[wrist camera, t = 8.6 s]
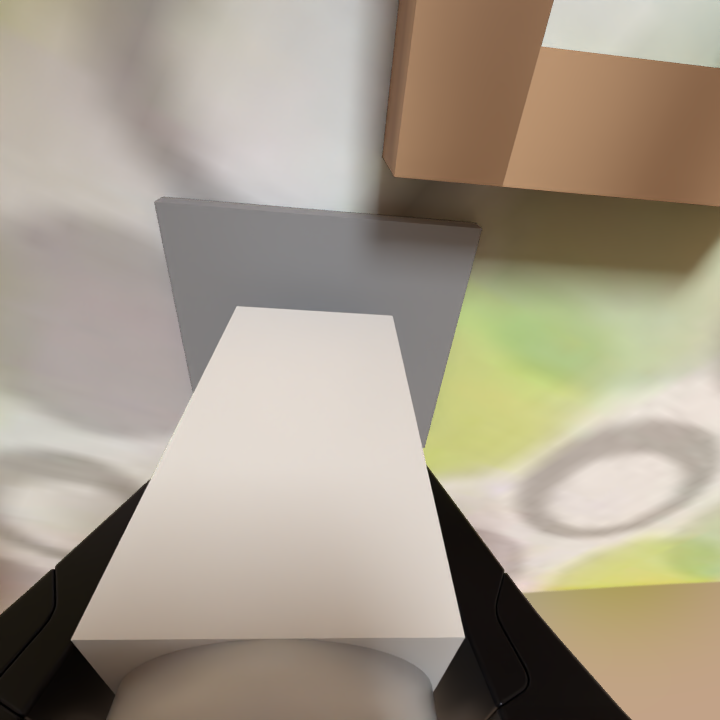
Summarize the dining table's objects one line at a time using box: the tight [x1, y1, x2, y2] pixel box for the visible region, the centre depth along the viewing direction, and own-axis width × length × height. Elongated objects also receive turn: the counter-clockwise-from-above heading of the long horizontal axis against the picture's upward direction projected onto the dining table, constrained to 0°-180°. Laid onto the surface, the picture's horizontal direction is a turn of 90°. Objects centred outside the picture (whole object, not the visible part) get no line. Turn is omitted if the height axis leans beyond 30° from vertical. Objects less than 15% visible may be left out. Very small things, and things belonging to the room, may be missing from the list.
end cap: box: [71, 306, 465, 720], centre depth 8 cm, size 4×4×9 cm
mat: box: [154, 197, 482, 448], centre depth 13 cm, size 9×9×1 cm
